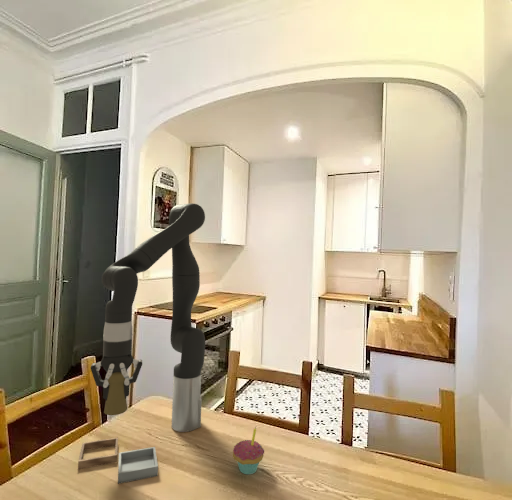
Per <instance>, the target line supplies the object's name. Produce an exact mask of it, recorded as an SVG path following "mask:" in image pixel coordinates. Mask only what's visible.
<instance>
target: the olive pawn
mask: <svg viewBox="0 0 512 500" xmlns="http://www.w3.org/2000/svg"><path fill="white" fill-rule="evenodd" d="M124 374H125V373H124ZM124 381H125V378H124V376H123V375H122V372H115V373H112V375H111V376H110V377H109V379H108V383H109V385H108V387H109V392H108V398H107V401H106V400H105V402H104V403H105V404H104V411H103V413H104V414H105V415H106V416H118V415H121V414H124V413H125V412H127V411H128V403H127V398H126V399H125V396H124V385H125V382H124Z"/></svg>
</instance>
